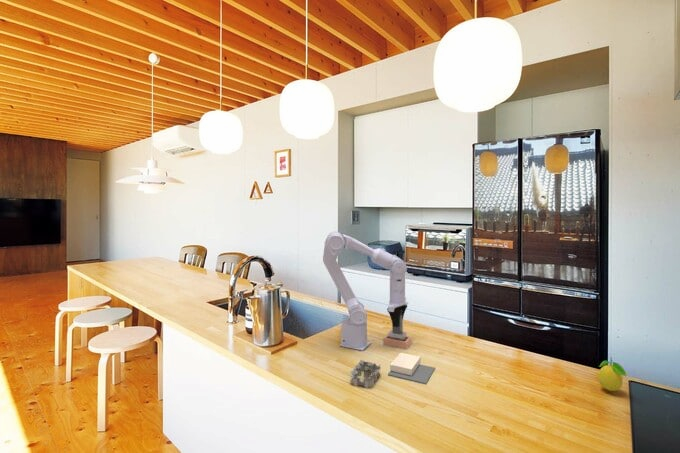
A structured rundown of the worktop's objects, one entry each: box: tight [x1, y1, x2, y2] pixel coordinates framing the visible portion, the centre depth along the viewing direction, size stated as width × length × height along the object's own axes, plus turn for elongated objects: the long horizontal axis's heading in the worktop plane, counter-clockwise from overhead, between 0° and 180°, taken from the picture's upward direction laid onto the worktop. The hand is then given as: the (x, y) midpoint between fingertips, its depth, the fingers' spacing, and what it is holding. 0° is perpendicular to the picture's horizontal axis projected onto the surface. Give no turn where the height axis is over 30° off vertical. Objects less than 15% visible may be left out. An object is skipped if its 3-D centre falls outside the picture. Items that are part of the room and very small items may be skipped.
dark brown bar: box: [388, 314, 408, 341], centre depth 134 cm, size 3×6×10 cm, turn 61°
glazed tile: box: [389, 352, 422, 376], centre depth 115 cm, size 7×2×10 cm
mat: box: [387, 363, 436, 385], centre depth 113 cm, size 12×11×1 cm
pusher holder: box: [382, 332, 412, 350], centre depth 135 cm, size 6×9×2 cm
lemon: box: [597, 357, 628, 392], centre depth 100 cm, size 7×6×10 cm
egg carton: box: [349, 359, 382, 389], centre depth 109 cm, size 11×8×4 cm
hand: (397, 325), depth 134 cm, fingers closed on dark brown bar, 3 cm apart
